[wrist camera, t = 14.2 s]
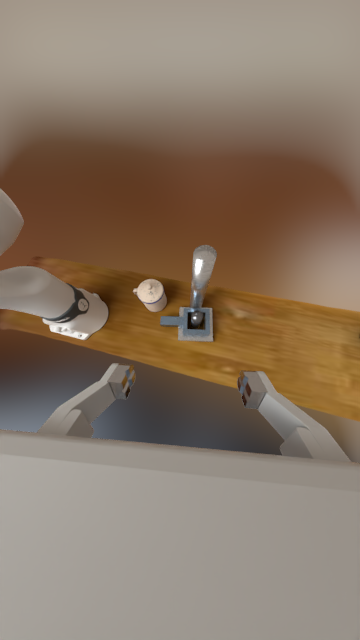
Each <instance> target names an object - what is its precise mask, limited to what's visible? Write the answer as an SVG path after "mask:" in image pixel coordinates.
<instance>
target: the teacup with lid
mask: <svg viewBox="0 0 360 640" xmlns="http://www.w3.org/2000/svg"><path fill="white" fill-rule="evenodd" d="M133 292H134V294H136V295H137V296H138V298H139V299H140V301H142V302H143V303H144V305H145V306H146V307H147V309H149V310H150V311H152V312H158V311H161V310H162V309H164V308H165V306H166V304H167V298H166V295H165V292H164V287H163V285H162V284H161V283H160V282H159V281H157V280H155V279H148V280H145V281H143V282H142V283H141V284H140V285H139V287H138V289H137V288H135V289H134V290H133Z"/></svg>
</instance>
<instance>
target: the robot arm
mask: <svg viewBox="0 0 360 640" xmlns="http://www.w3.org/2000/svg"><path fill="white" fill-rule="evenodd" d="M23 224H24V222H23V218H22V216H21V214H20V212H19V210H18V209H17V207H16V206H15V204H14V203H13V202H12V201H11V199H10V198H9V197H8V196H7V195H6V194H5V193H4V192H3V191H2V190H1V189H0V255H1V254H2V253H3V252H5V251H6V249H8V248H9V247H10V246H11V245H12V244H13V243H14V241H15V239H16V238H17V235H18V234H19V232H20V230H21V228H22V226H23ZM0 308H2V309H11V310H16V311H21V312H26V313H30V314H34V315H37V316H40V317H41V318H43V322H44V323H45V324H48V325H50V330H51V331H52V332H56V333H59V334H63V335H67V336H71V337H74V338H78V339H82V340H86V339H88V338H89V337H90V335H91V334H92V333H94V332H96V331H98V330H99V329H100V328H101V327H102V326H103V325H104V324H105V322H106V320H107V318H108V308H107V305H106V304H105V303H104V302H103V301H102V300H101V299H100V297H99V295H98V294H95V293H94V294H91V293H89V292H87V291H86V290H84V289H81V288H80V289H77V288H76V287H74V286H72V285H70V284H68V283H64V282H63V281H61V280H60V279H58V278H56V277H55V276H53V275H52V274H50V273H48V272H47V271H45V270H43V269H40V268H37V267H30V266H21V267H14V268H11V269H7V270H3V271H0ZM81 335H82V336H81ZM133 369H134V367H133V365H130V364H117V363H113V364H112V365H111V366H110V367H109V369H108V370H107V372H106V373H105V374H104V376H103V377H102V379H101V380H100V381H99V382H96V383H94V384H93V385H91V386H90V387H88V388H87V389H85V390H84V391H82V392H81V393H79V394H78V395H76V396H75V397H73V398H72V399H70V400H69V401H67V402H66V403H64V404H62V405H61V406H60V407H58V408H57V409H56V410H55V412H54V413H53V414H52V415H51V416H50V417H49V419H48V420H47V421H46V422H45V424H44V425H43V426H42V427H41V428H40V429H39V430H38V432H37V433H34V432H22V431H12V430H1V429H0V640H360V463H353V462H351V461H350V460H349V458H348V457H347V456H346V454H345V453H344V452H343V450H342V449H341V448H340V447H339V445H338V444H337V443H336V441H335V440H334V439H333V437H332V436H331V435H330V434H329V432H328V431H327V430H326V429H325V428H324V427H323V426H321V425H320V424H319V423H317V422H316V421H315V420H314V419H312V418H311V417H310V416H308V415H307V414H306V413H305V412H303V411H302V410H301V409H299V408H298V407H297V406H295V405H294V404H293V403H292V402H290V401H289V400H288V399H286V398H285V397H284V396H282V395H281V394H280V393H277V392H276V390H275V389H274V387H273V385H272V384H271V382H270V381H269V379H268V377H267V376H266V374H265V373H264V372H262V371H243V370H241V371H240V377H239V378H238V380H237V386H238V390H239V392H240V393H241V394H242V397H241V398H242V401H243V404H244V407H245V408H253V409H258V411H259V412H260V413H261V414H262V415H263V416H264V417H265V418H266V419H267V421H268V422H269V423H270V424H271V425H272V426H273V427H274V429H275V430H276V431H277V432H278V433H279V434H280V435H281V437H282V438H283V439H284V440H285V442H284V443H283V444H282V445H281V447H280V450H281V453H282V455H283V456H279V455H269V454H258V453H247V452H237V451H236V452H235V451H225V450H214V449H204V448H194V447H182V446H173V445H162V444H151V443H140V442H130V441H118V440H109V439H98V438H91V437H92V435H93V433H94V429H93V428H92V426H91V425H90V423H91V422H92V421H94V420H95V419H96V418H97V416H99V415H100V414H101V413H102V412H103V411H104V410H105V409H106V408H107V407H108V406H109V405H110V404H111V403H112V402H113V401H114V400H115V399H127V397H128V395H129V393H130V387H131V386H132V385H133V383H134V381H135V372H134V371H133Z"/></svg>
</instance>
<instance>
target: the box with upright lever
mask: <svg viewBox="0 0 360 640" xmlns="http://www.w3.org/2000/svg"><path fill="white" fill-rule="evenodd" d="M216 256H217V253H216V251H215V249H214V248H213V247H211V246H208V245H203V246H199V247H197V248H196V249H195V251H194V254H193V269H192V284H191V299H190V307H180V314H179V317H171V316H161V323H160V325H161V326H166V327H179V333H178V341H199V342H213V321H212V308H202V304H203V301H204V297H205V294H206V290H207V287H208V284H209V280H210V277H211V273H212V270H213V266H214V263H215V260H216ZM196 310H199V311H201V312H202V313H203V317H204V330H198V329H187V318H188V317H191V316H192V313H193V312H194V311H196Z"/></svg>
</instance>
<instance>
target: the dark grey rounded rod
mask: <svg viewBox="0 0 360 640" xmlns="http://www.w3.org/2000/svg"><path fill="white" fill-rule="evenodd" d="M202 319H203V313H202V312H201V311H199V310H196V311H194V312H193V313H192V316H191V327H192V328H193V329H197V328H199V326H200V324H201V321H202Z"/></svg>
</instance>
